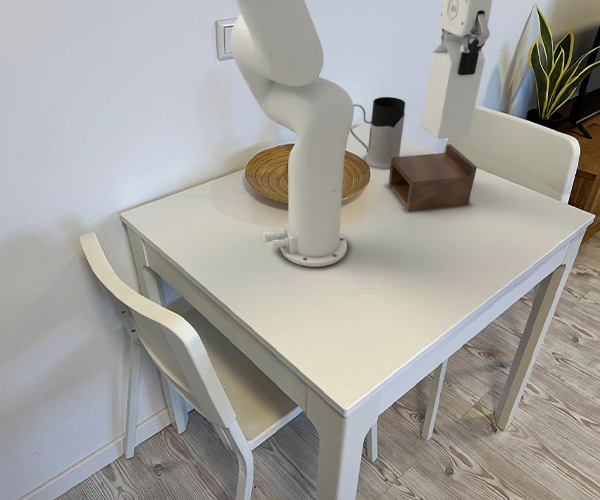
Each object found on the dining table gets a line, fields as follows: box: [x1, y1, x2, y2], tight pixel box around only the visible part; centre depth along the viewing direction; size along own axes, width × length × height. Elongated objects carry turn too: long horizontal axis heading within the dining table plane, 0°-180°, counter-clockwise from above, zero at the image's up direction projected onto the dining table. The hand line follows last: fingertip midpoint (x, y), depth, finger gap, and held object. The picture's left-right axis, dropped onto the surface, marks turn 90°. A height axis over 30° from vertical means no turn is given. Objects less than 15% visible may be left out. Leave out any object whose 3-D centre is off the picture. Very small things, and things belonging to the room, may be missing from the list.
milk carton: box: [420, 33, 486, 140], centre depth 100 cm, size 7×7×19 cm
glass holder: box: [350, 96, 406, 169], centre depth 125 cm, size 9×14×15 cm, turn 77°
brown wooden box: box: [387, 143, 478, 212], centre depth 112 cm, size 14×12×9 cm
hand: (455, 67), depth 98 cm, fingers closed on milk carton, 7 cm apart
